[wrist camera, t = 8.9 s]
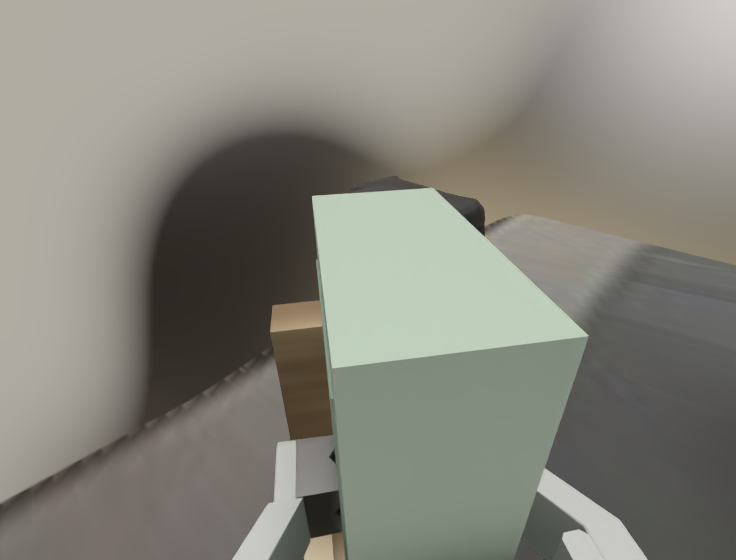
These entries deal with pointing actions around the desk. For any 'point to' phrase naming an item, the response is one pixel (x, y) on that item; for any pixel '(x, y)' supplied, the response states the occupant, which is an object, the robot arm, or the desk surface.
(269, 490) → the desk surface
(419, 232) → the mint green rectangular block
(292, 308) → the track
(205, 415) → the desk surface
